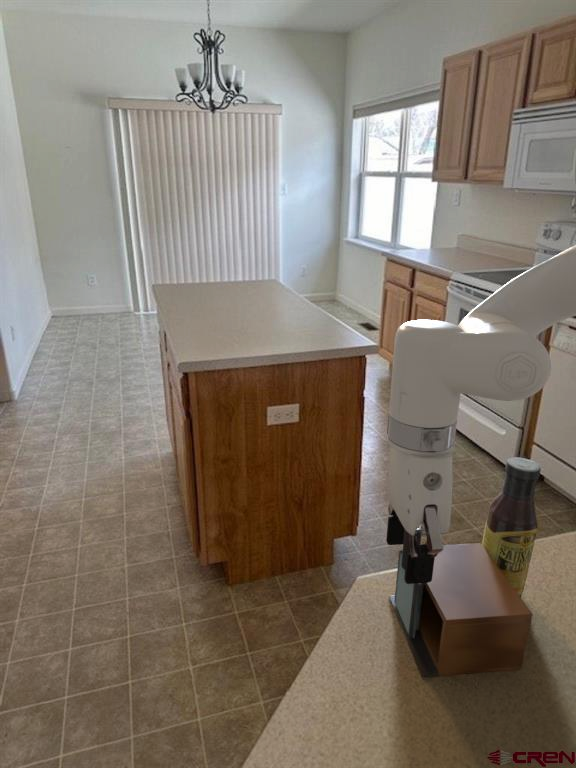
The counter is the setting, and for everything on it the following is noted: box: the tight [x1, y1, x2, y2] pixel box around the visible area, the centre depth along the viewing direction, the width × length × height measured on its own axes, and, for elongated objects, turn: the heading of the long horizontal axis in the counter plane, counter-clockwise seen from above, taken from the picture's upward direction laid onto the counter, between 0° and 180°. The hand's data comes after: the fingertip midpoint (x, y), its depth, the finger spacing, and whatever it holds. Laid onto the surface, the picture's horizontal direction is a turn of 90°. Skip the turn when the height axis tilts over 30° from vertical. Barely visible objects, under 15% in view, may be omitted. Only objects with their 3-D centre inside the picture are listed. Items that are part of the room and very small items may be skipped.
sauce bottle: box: [481, 457, 541, 598], centre depth 71 cm, size 6×6×20 cm
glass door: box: [394, 524, 423, 639], centre depth 66 cm, size 2×6×14 cm, turn 6°
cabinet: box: [388, 542, 533, 679], centre depth 66 cm, size 12×13×8 cm
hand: (407, 560), depth 66 cm, fingers open, 6 cm apart
